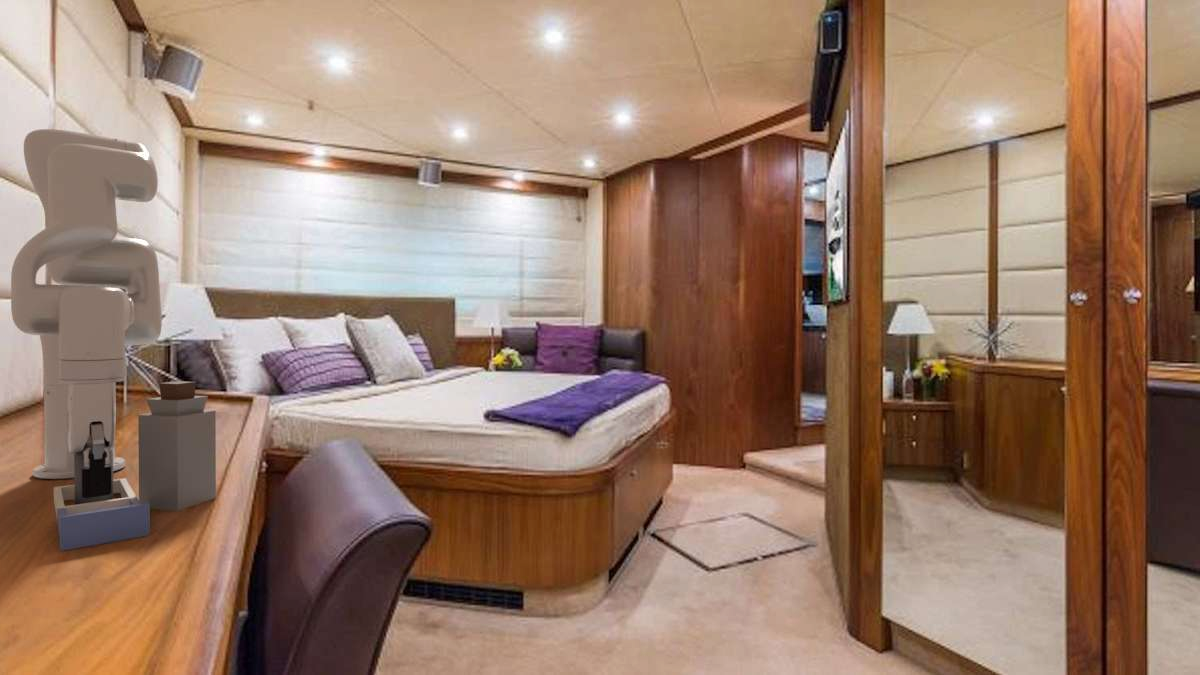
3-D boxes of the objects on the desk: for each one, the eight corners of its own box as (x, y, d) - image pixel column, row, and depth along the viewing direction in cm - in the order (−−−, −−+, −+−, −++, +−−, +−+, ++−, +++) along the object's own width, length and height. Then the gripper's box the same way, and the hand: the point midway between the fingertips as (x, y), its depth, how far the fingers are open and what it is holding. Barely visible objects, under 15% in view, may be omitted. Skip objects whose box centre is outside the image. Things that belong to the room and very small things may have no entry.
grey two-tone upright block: (73, 505, 92) (73, 450, 92) (111, 499, 95) (111, 447, 95) (75, 512, 89) (75, 456, 89) (114, 506, 92) (114, 452, 91)
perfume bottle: (177, 510, 90) (177, 385, 90) (139, 507, 92) (138, 383, 91) (215, 497, 97) (215, 381, 96) (179, 494, 98) (178, 379, 98)
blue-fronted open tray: (53, 500, 94) (53, 474, 94) (125, 490, 100) (125, 465, 100) (61, 551, 74) (60, 517, 74) (149, 535, 80) (149, 504, 80)
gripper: (56, 368, 95) (58, 480, 96) (61, 377, 82) (62, 507, 83) (119, 366, 100) (119, 473, 101) (132, 375, 87) (133, 497, 88)
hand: (94, 488), depth 92 cm, fingers open, 9 cm apart
